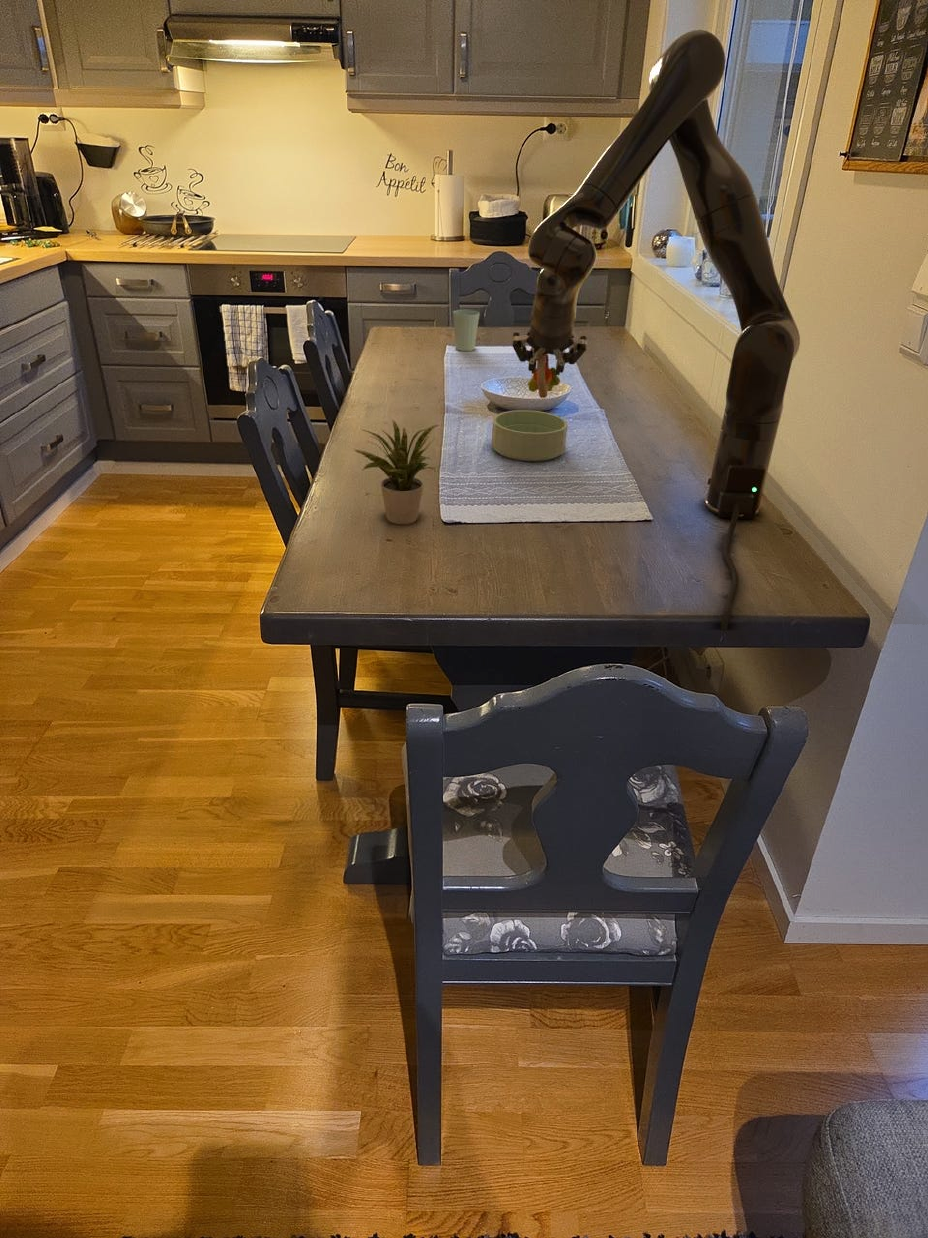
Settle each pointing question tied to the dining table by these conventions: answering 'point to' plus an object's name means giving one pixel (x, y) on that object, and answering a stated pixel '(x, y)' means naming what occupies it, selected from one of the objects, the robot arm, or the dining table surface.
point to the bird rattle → (543, 377)
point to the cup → (465, 329)
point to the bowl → (529, 435)
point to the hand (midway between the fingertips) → (545, 369)
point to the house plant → (401, 475)
